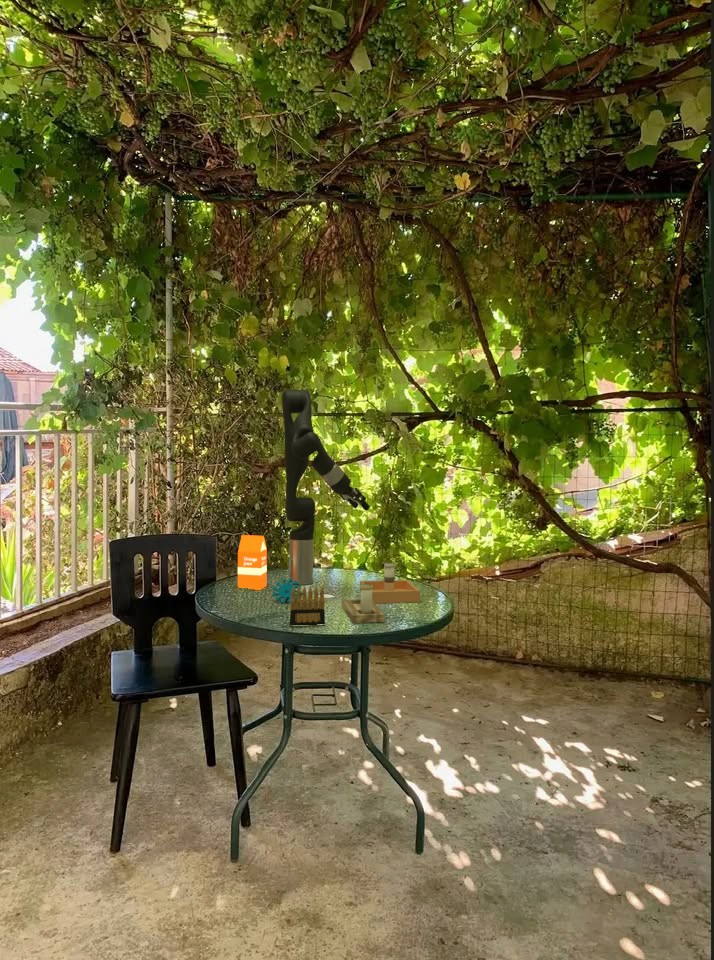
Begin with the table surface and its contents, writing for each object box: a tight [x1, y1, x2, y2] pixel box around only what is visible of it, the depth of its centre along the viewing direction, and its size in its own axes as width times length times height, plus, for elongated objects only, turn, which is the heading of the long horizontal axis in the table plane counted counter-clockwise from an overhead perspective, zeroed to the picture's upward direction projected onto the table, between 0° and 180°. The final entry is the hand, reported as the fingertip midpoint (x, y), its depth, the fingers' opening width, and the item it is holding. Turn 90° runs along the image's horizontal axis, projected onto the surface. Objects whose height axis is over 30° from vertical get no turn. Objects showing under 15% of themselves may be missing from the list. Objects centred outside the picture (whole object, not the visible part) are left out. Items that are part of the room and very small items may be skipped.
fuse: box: [359, 584, 373, 614], centre depth 221 cm, size 4×4×11 cm
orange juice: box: [237, 534, 268, 590], centre depth 261 cm, size 8×9×20 cm
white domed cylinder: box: [383, 562, 396, 591], centre depth 251 cm, size 4×4×11 cm
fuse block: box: [341, 598, 385, 624], centre depth 227 cm, size 10×21×2 cm, turn 10°
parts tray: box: [359, 579, 421, 605], centre depth 252 cm, size 18×18×4 cm
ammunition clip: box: [289, 585, 326, 626], centre depth 213 cm, size 11×2×12 cm, turn 100°
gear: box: [272, 577, 303, 604], centre depth 244 cm, size 11×6×10 cm
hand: (362, 507), depth 262 cm, fingers open, 8 cm apart
